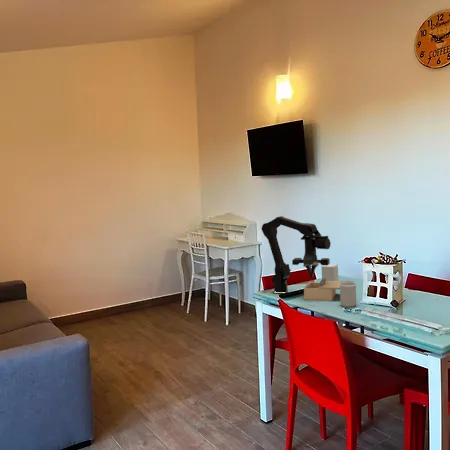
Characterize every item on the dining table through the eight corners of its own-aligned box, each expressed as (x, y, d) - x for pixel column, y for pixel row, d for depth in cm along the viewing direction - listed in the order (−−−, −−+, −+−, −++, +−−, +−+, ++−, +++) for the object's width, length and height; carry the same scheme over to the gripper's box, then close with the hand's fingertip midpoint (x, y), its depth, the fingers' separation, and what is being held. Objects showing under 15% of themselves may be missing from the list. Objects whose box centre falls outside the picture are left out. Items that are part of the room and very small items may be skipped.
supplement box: (339, 286, 269) (338, 264, 268) (334, 289, 263) (333, 266, 262) (326, 285, 273) (325, 263, 272) (321, 288, 267) (321, 266, 266)
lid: (318, 288, 242) (318, 283, 242) (323, 282, 255) (323, 277, 255) (347, 289, 237) (347, 284, 237) (350, 282, 250) (350, 278, 250)
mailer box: (304, 299, 246) (303, 288, 245) (309, 292, 259) (309, 282, 258) (331, 300, 241) (331, 289, 240) (335, 293, 254) (335, 282, 253)
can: (347, 308, 226) (347, 283, 224) (337, 305, 232) (336, 281, 231) (359, 305, 229) (359, 281, 228) (349, 302, 236) (348, 278, 235)
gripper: (289, 250, 244) (290, 280, 246) (325, 251, 238) (327, 281, 239) (294, 247, 255) (295, 276, 256) (329, 247, 248) (330, 276, 250)
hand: (311, 277), depth 250 cm, fingers closed
